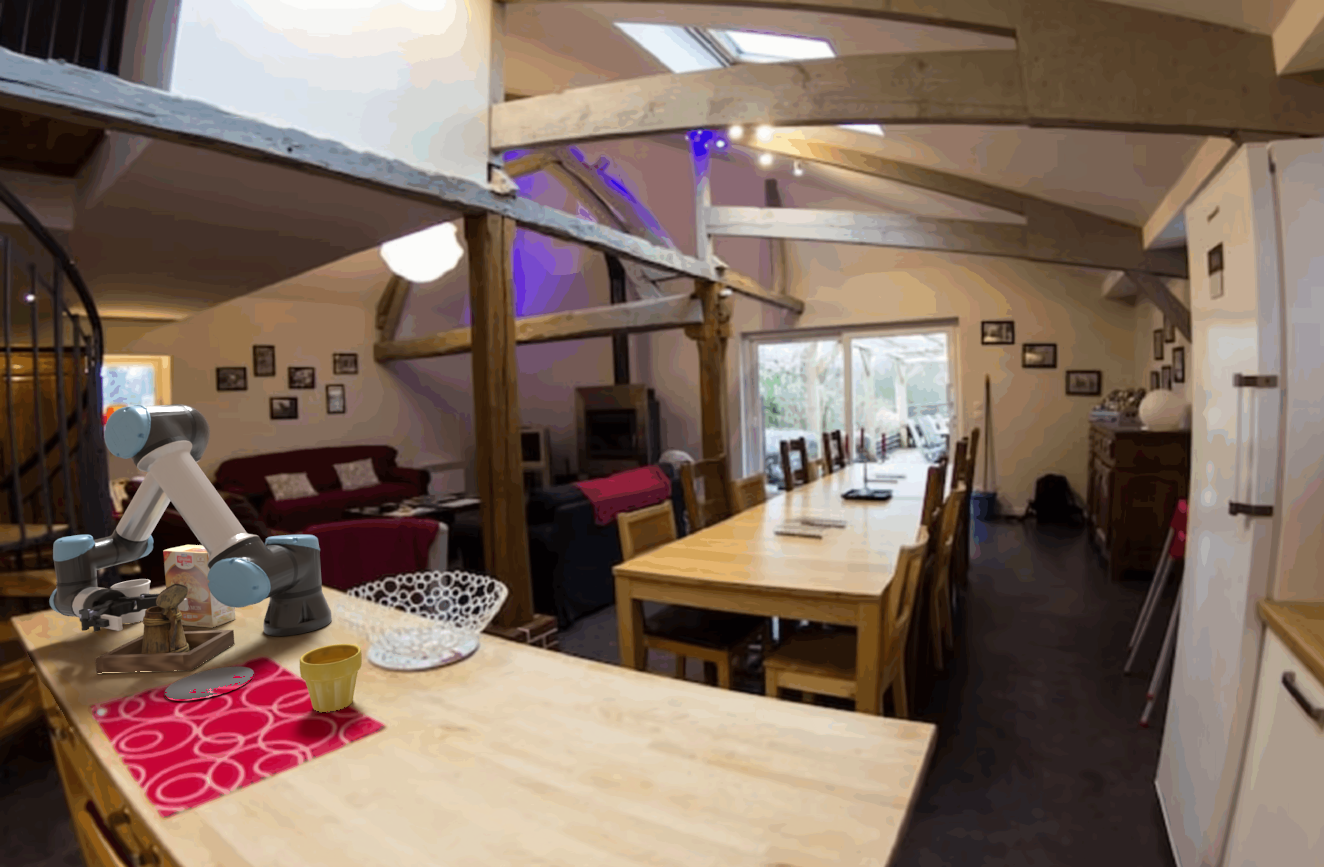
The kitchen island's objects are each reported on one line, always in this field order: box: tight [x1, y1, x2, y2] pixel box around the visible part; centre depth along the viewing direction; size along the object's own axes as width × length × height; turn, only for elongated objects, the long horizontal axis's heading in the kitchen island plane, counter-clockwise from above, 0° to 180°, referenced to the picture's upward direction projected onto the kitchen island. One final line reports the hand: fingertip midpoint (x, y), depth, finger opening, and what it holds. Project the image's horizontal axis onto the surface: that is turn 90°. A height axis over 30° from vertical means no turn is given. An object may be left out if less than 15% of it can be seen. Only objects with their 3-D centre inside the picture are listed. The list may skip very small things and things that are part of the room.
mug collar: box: [94, 629, 236, 674], centre depth 152 cm, size 20×15×4 cm
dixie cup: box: [110, 578, 151, 624], centre depth 180 cm, size 8×8×10 cm
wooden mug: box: [141, 584, 190, 654], centre depth 152 cm, size 9×14×18 cm, turn 55°
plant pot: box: [299, 643, 363, 713], centre depth 126 cm, size 10×10×10 cm
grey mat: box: [164, 665, 255, 699], centre depth 137 cm, size 15×15×1 cm
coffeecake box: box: [162, 544, 237, 629], centre depth 176 cm, size 15×7×20 cm, turn 73°
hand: (154, 614), depth 153 cm, fingers open, 13 cm apart
